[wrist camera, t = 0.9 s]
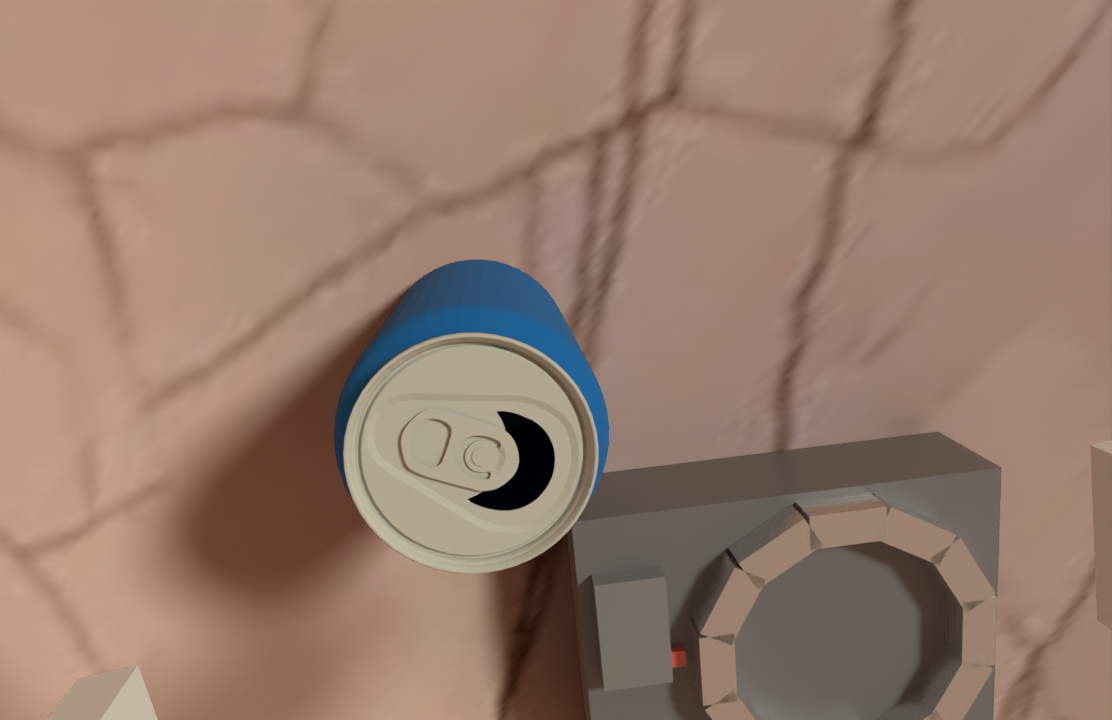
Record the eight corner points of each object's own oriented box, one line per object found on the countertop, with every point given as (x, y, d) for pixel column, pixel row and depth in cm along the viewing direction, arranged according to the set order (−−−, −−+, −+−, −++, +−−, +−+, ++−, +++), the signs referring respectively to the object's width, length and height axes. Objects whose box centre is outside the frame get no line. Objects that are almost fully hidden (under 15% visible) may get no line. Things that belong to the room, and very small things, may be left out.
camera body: (586, 726, 33) (602, 815, 29) (560, 478, 31) (573, 532, 26) (934, 676, 34) (1005, 755, 30) (938, 431, 32) (1016, 476, 27)
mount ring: (700, 777, 30) (709, 801, 28) (683, 516, 27) (692, 531, 26) (972, 737, 30) (991, 759, 29) (979, 478, 28) (1000, 491, 27)
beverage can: (534, 451, 30) (563, 621, 19) (367, 401, 29) (288, 549, 18) (590, 289, 29) (658, 365, 18) (418, 232, 28) (370, 273, 17)
